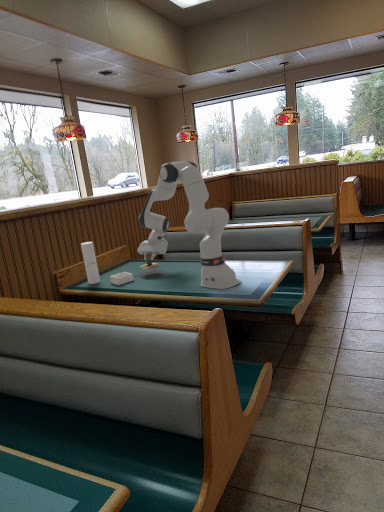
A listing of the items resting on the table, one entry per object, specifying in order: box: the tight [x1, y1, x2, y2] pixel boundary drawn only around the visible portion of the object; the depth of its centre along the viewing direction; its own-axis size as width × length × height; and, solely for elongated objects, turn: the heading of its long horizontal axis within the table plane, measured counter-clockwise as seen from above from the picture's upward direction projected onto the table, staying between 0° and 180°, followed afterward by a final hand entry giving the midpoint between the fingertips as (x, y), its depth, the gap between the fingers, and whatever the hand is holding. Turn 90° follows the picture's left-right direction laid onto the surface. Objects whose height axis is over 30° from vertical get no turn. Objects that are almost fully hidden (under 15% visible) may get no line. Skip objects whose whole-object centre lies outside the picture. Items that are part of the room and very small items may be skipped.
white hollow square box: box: [109, 271, 134, 286], centre depth 229 cm, size 10×10×4 cm
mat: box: [134, 269, 169, 281], centre depth 236 cm, size 16×16×1 cm
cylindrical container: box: [80, 241, 101, 285], centre depth 234 cm, size 7×7×25 cm
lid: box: [139, 252, 161, 271], centre depth 234 cm, size 12×12×9 cm
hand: (148, 259), depth 233 cm, fingers closed on lid, 3 cm apart
